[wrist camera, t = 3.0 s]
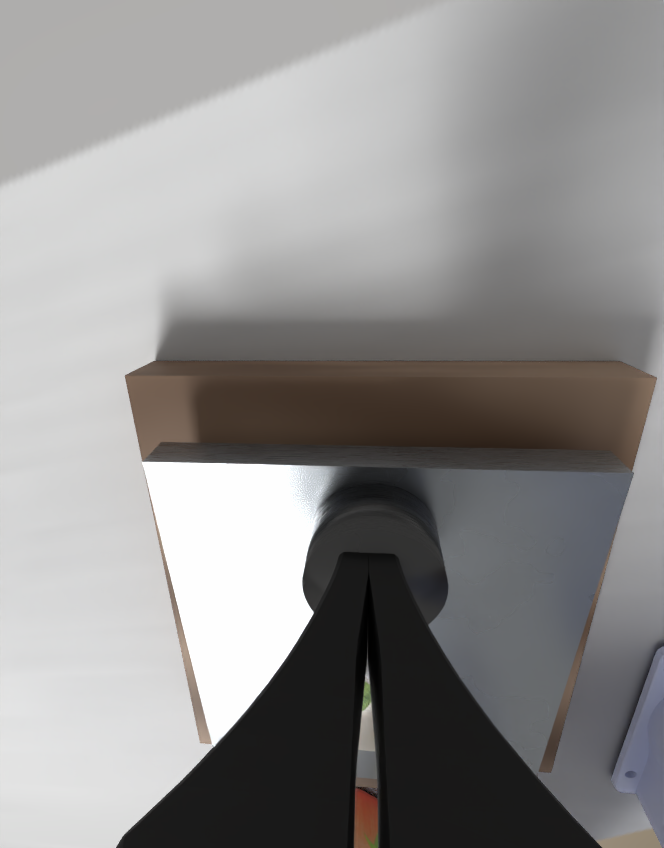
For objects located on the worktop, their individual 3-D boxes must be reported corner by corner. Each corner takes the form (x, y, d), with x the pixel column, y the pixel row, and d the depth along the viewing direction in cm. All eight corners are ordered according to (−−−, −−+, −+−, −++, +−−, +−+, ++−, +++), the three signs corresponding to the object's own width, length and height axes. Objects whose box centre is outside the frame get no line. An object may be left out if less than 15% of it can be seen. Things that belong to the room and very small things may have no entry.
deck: (522, 759, 18) (549, 859, 15) (225, 734, 20) (200, 823, 17) (610, 450, 12) (685, 523, 9) (161, 442, 13) (101, 504, 10)
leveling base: (535, 726, 21) (561, 804, 18) (214, 702, 22) (190, 771, 19) (619, 361, 14) (685, 390, 11) (154, 360, 16) (103, 386, 13)
